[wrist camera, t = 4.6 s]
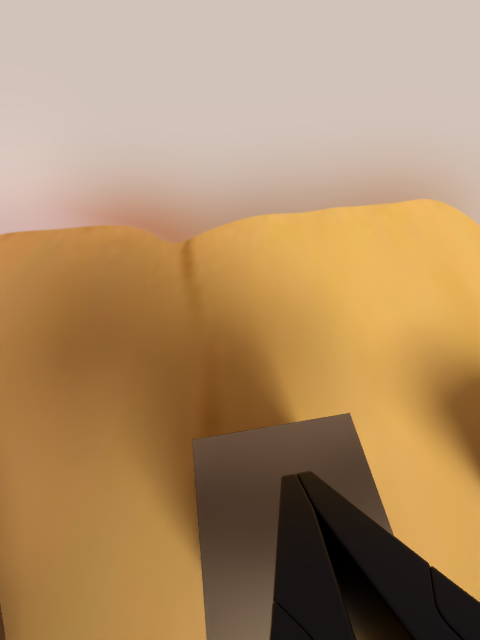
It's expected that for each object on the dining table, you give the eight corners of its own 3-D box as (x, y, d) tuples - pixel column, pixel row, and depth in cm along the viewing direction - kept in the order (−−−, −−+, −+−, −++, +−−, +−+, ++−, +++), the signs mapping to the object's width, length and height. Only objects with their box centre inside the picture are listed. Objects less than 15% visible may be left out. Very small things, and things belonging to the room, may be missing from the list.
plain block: (341, 575, 15) (428, 632, 8) (223, 601, 14) (210, 686, 7) (307, 448, 18) (349, 413, 11) (209, 465, 17) (192, 439, 11)
